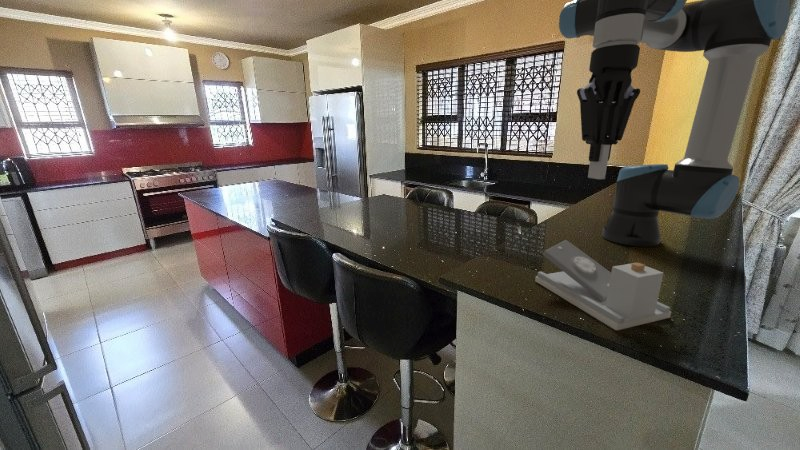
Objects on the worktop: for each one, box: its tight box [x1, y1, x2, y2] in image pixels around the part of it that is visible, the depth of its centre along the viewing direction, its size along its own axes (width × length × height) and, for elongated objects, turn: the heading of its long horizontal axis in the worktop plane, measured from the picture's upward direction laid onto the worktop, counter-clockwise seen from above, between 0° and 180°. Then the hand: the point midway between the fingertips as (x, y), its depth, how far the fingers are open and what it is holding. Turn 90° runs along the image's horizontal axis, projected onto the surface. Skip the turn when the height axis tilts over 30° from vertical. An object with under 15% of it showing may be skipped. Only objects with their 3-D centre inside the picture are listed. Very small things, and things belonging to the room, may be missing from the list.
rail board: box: [534, 262, 672, 331], centre depth 69 cm, size 13×21×10 cm, turn 18°
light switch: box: [542, 239, 612, 302], centre depth 73 cm, size 8×6×14 cm
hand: (596, 178), depth 67 cm, fingers closed
